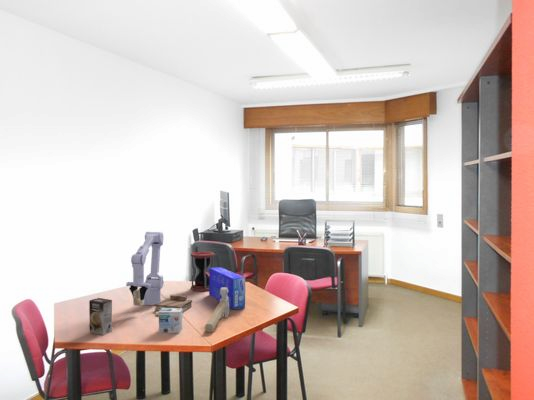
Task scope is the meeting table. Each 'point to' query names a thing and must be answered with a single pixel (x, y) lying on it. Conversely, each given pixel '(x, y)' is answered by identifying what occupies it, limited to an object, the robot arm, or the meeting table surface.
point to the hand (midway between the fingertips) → (138, 299)
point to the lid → (174, 302)
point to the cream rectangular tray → (168, 307)
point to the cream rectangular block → (137, 298)
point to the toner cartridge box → (227, 286)
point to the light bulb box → (170, 320)
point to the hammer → (219, 310)
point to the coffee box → (100, 316)
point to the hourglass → (201, 270)
